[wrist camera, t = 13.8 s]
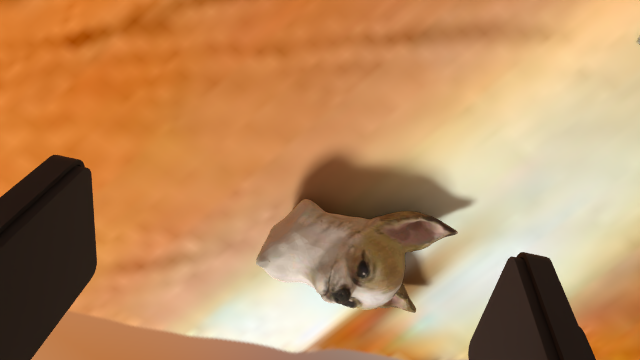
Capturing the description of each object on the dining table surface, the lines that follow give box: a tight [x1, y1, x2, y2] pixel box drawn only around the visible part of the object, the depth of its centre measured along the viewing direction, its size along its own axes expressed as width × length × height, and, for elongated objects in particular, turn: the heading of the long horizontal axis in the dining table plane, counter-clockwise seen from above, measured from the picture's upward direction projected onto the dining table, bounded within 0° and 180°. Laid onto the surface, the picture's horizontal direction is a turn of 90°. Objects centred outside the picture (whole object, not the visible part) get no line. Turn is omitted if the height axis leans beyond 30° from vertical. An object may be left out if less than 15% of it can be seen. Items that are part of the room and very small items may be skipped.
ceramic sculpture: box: [256, 199, 458, 312], centre depth 42 cm, size 11×9×15 cm
